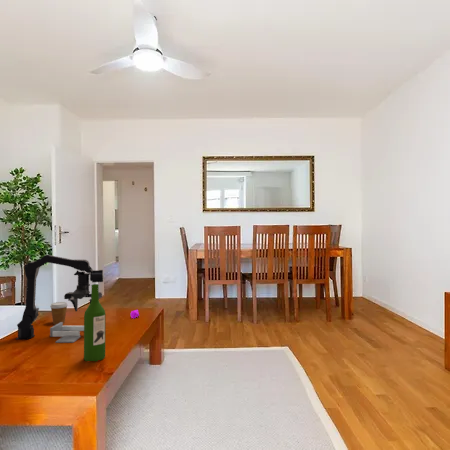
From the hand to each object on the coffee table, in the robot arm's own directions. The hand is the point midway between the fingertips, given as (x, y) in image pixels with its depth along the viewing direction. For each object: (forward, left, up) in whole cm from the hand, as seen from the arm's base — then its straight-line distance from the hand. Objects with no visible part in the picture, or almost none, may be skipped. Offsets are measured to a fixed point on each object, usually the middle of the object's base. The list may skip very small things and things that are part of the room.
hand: (83, 311), depth 188 cm
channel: (-7, 0, -12) cm, 14 cm away
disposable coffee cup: (-23, +20, -12) cm, 33 cm away
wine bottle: (+20, -36, -12) cm, 43 cm away
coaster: (-3, -11, -12) cm, 17 cm away
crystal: (+19, +33, -12) cm, 40 cm away
